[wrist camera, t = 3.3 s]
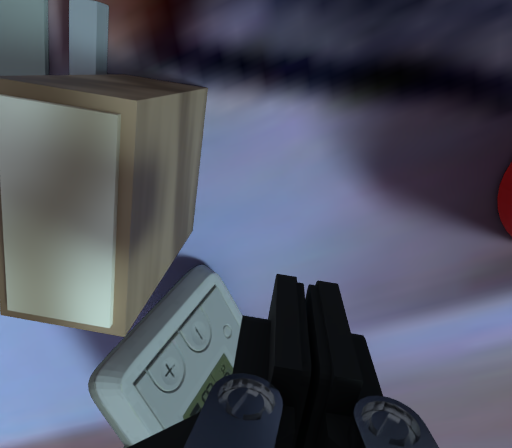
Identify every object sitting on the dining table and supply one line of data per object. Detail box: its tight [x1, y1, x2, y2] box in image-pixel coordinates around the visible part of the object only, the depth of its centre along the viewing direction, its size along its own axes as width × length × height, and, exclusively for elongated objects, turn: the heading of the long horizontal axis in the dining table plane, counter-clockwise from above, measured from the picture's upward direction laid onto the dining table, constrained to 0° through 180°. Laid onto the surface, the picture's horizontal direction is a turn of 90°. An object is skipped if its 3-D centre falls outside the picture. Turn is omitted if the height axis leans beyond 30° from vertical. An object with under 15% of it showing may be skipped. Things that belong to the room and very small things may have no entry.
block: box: [0, 74, 208, 337], centre depth 21 cm, size 5×9×12 cm, turn 171°
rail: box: [69, 0, 109, 75], centre depth 26 cm, size 2×16×2 cm, turn 171°
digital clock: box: [88, 265, 242, 448], centre depth 26 cm, size 16×9×11 cm, turn 15°
